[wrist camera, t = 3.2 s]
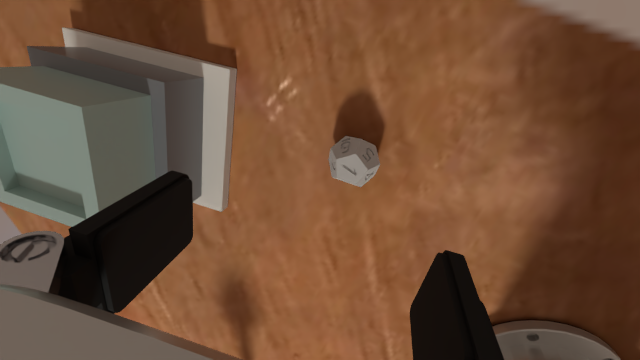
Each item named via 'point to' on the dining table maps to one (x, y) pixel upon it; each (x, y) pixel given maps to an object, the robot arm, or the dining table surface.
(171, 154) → the stepped pedestal
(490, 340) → the robot arm
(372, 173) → the game die
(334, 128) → the dining table surface
